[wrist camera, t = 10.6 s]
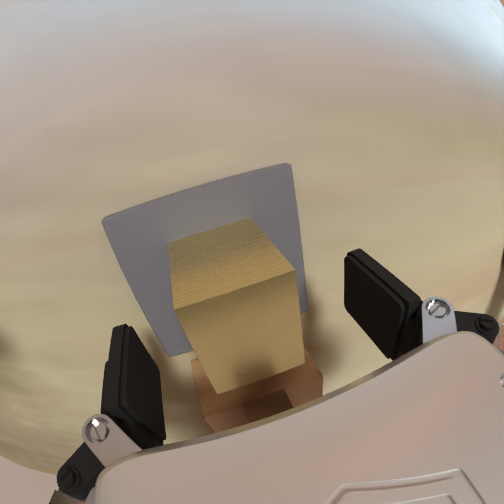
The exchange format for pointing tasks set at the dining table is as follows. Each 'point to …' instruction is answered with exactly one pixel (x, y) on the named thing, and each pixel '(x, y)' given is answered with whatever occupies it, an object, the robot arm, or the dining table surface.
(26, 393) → the dining table surface
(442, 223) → the dining table surface
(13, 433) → the dining table surface
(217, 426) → the plane body
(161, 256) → the mat
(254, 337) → the tan wooden block
